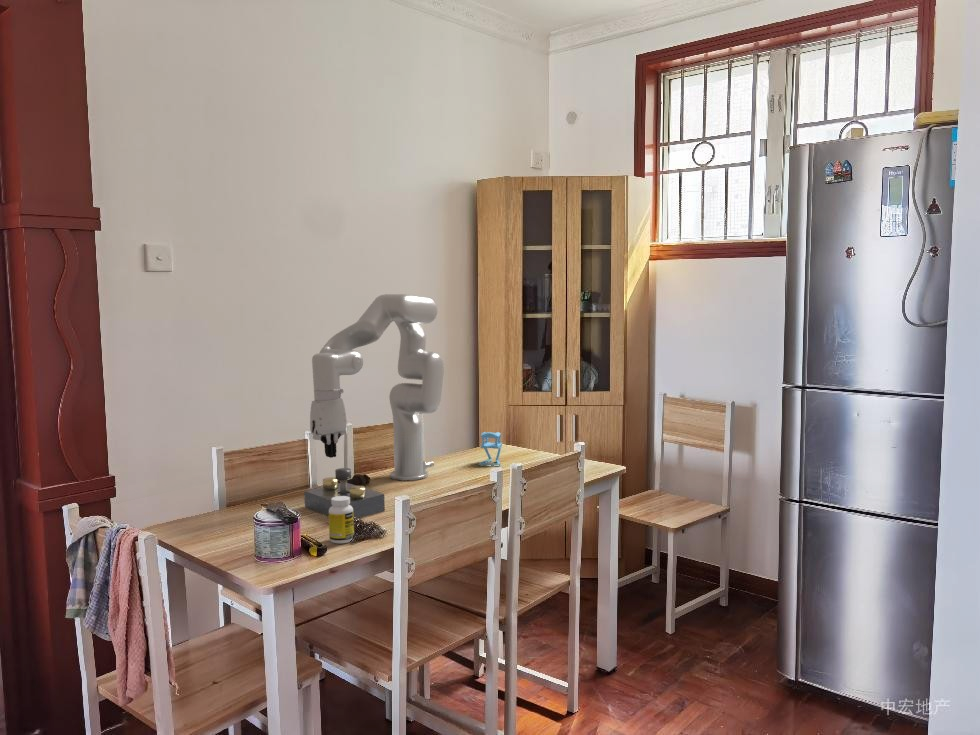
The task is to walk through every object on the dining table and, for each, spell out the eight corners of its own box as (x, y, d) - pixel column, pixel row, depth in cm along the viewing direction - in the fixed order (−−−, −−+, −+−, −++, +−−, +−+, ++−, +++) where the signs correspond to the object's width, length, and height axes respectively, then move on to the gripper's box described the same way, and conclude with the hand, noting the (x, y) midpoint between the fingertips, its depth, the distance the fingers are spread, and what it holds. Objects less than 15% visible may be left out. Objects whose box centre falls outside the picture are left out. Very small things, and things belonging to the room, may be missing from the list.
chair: (504, 461, 288) (504, 429, 287) (499, 466, 280) (499, 433, 279) (483, 461, 290) (483, 428, 289) (478, 465, 282) (477, 432, 281)
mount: (345, 498, 242) (344, 482, 242) (384, 511, 228) (384, 494, 228) (305, 507, 233) (304, 490, 232) (343, 521, 219) (342, 504, 218)
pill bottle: (349, 544, 199) (347, 501, 198) (325, 543, 200) (324, 501, 199) (357, 537, 205) (356, 495, 204) (334, 536, 207) (333, 494, 205)
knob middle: (346, 492, 233) (345, 467, 232) (354, 495, 230) (353, 469, 229) (333, 495, 230) (332, 469, 229) (341, 498, 227) (340, 472, 226)
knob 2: (360, 510, 229) (359, 484, 228) (369, 513, 225) (368, 487, 225) (347, 513, 226) (346, 487, 225) (356, 516, 222) (355, 490, 222)
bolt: (369, 490, 258) (339, 500, 245) (358, 481, 260) (328, 491, 247) (376, 476, 257) (347, 485, 243) (365, 467, 258) (335, 476, 245)
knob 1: (333, 501, 239) (332, 476, 238) (341, 503, 235) (340, 479, 235) (320, 504, 236) (319, 479, 235) (328, 507, 232) (327, 481, 232)
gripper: (341, 390, 240) (345, 449, 242) (297, 397, 230) (302, 459, 232) (356, 393, 234) (359, 453, 237) (311, 400, 224) (315, 463, 227)
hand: (331, 456), depth 235 cm, fingers closed
